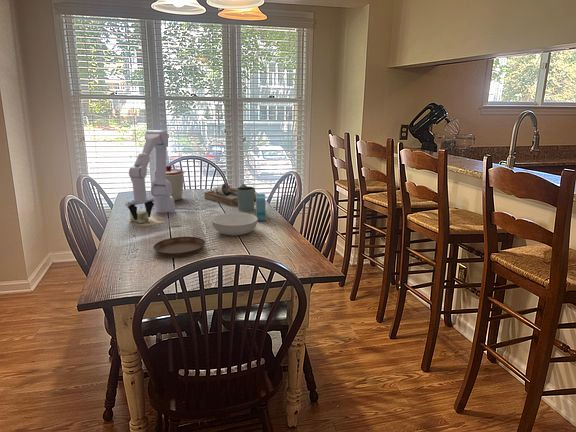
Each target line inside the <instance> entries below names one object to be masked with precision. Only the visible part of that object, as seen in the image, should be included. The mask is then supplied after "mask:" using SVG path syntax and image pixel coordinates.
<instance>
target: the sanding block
mask: <svg viewBox="0 0 576 432" xmlns="http://www.w3.org/2000/svg"><path fill="white" fill-rule="evenodd" d="M129 217H130V218H129V219H131V221H133V222H135V223H138V224H144V223H149V220H148V212H146V210H145V211H144V210H141V209H137V220H134V219H133V216H132V213H131V211H130V210H129Z"/></svg>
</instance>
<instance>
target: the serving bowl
mask: <svg viewBox="0 0 576 432" xmlns="http://www.w3.org/2000/svg"><path fill="white" fill-rule="evenodd" d="M257 220H258V218H257V215H255V214H251V213H247V212H227V213H222V214H218V215H217V214H216V215H215V216H213V217H212V218H211V224H212V227H213V228H214V229H215V231H217V232H218V233H220V234H222V235H225V236H241V235H246V234H248V233H251V232H253V230H254V229H255V228H256V227H257V224H258V221H257Z"/></svg>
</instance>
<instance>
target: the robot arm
mask: <svg viewBox="0 0 576 432" xmlns="http://www.w3.org/2000/svg"><path fill="white" fill-rule="evenodd" d="M144 139H145V143H144V146H143V148H142V152H140V153H139V154H138V156H137V158H136V160H135V162H134V164H133V166H131V167H129V170H128V176H129V177H130V181H131V183H132V191H133V193H132V194H133V200H129V201H125V207H127V209H128V210H129V212H130V211H131V213H132V216H133V219H134V220H137V210H138V207H137V206H138V205H142V204H143V205H144V207H145V212H148V217H150V215H152V210H153V207H154V204H155V210H156V213H160V214H163V213H172V214H175V213H177V211H176V204H175V202H176V201H174V198H173V197H172V196H171V195H172V187H171V183H170V182H169V181H168V180H167V179H166V166H167V147H168V146H169V134H168V133H167V131H166V130H165V129H163V130H160V129H159V130H155V129H154V130H153V129H152V130H151V129H147V130H146V131H145V135H144ZM154 148H155V172H156V180H155V179H154V180H153V181H152V182H151V187H150V193H151V196H152V197H147V192H146V191H147V189H146V179H145V178H146V177H147V174H148V166H149V164H150V161H151V157H150V154H152V152H153V150H154ZM158 184H164V185H158ZM154 202H155V203H154Z"/></svg>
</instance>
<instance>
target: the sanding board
mask: <svg viewBox="0 0 576 432" xmlns="http://www.w3.org/2000/svg"><path fill="white" fill-rule="evenodd" d="M148 220H149V223H144V224H138V223H135V222H133V221H131V219H130V218H129V219H125V222H128V223H130V224H132V225H133V224H134V225H135V226H138V227H140V228H144V227H148V226H153V225H157V224H163V223H166V222H167V223H168V222H170V220H169V219H166V218H164V217H161V216H159V215H156V214H153V213H151V214H150V217H148Z"/></svg>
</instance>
